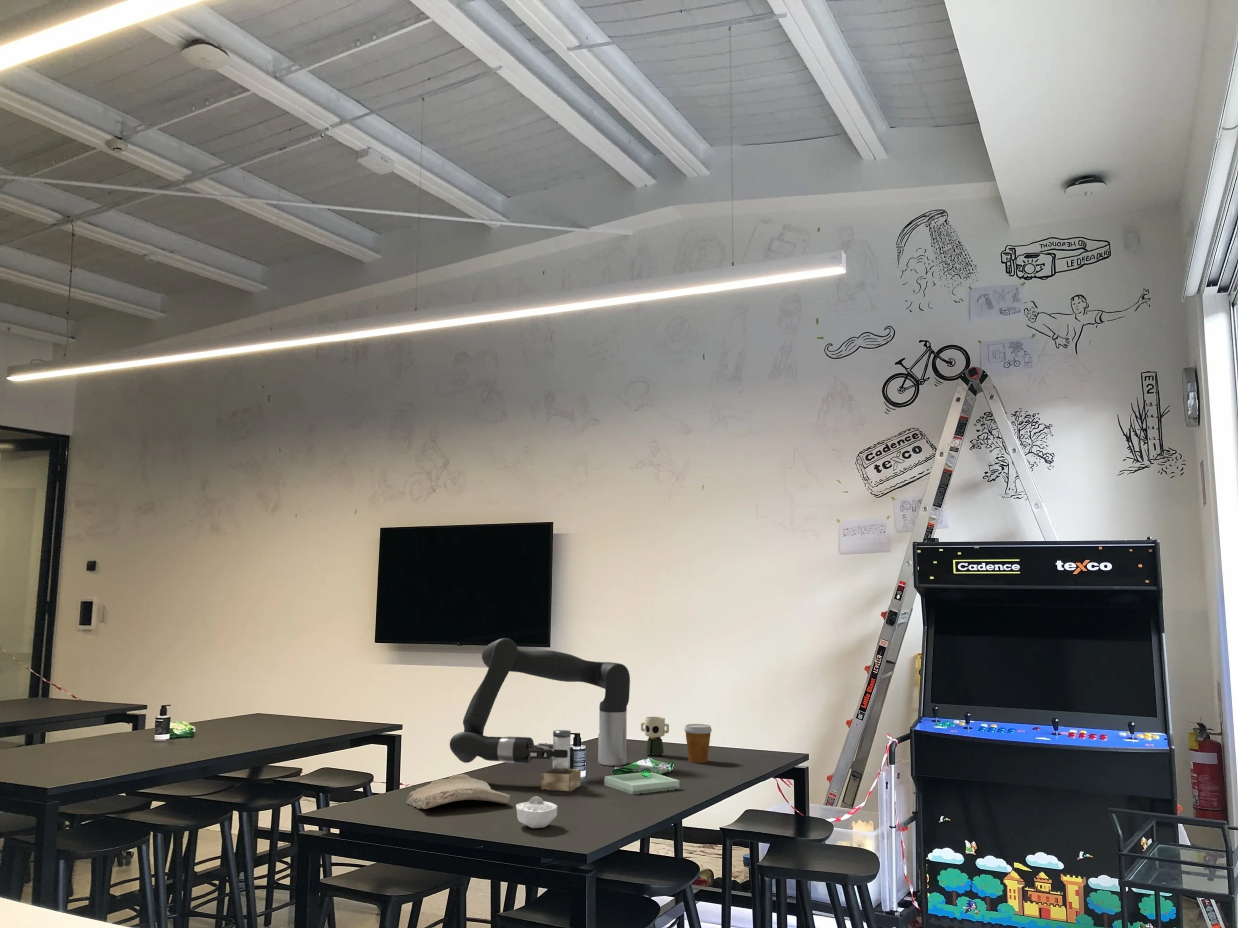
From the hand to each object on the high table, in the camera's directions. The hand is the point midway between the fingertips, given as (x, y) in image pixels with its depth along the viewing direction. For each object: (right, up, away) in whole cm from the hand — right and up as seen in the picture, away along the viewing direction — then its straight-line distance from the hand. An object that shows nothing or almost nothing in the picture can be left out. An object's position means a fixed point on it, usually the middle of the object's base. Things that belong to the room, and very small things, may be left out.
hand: (570, 752), depth 285 cm
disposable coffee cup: (+41, -17, +46) cm, 64 cm away
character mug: (+27, -19, +58) cm, 67 cm away
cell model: (-6, -3, -50) cm, 50 cm away
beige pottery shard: (-29, -7, -25) cm, 39 cm away
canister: (-3, -10, -1) cm, 10 cm away
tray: (+21, -10, +1) cm, 23 cm away
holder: (-3, -10, -1) cm, 10 cm away
